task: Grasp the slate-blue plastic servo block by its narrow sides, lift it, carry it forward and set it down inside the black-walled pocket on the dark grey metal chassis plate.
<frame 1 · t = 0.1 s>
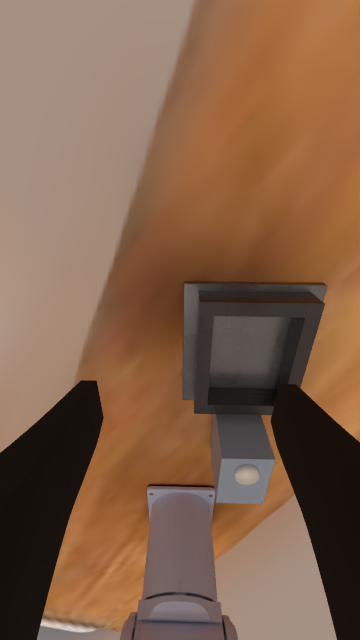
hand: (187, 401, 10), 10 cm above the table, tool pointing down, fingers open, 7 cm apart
servo block: (232, 425, 25), on the table
chassis: (244, 346, 21), on the table
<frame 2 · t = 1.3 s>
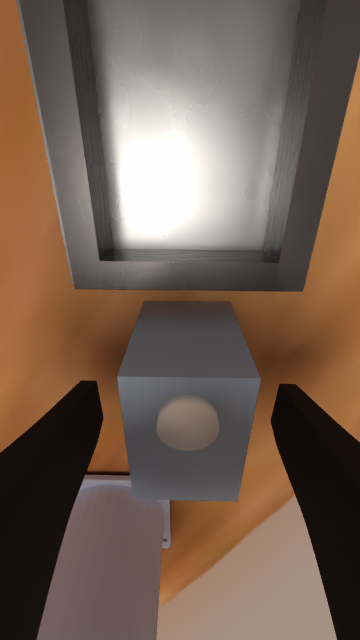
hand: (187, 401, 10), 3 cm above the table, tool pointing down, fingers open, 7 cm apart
servo block: (185, 353, 13), on the table
chassis: (190, 130, 9), on the table
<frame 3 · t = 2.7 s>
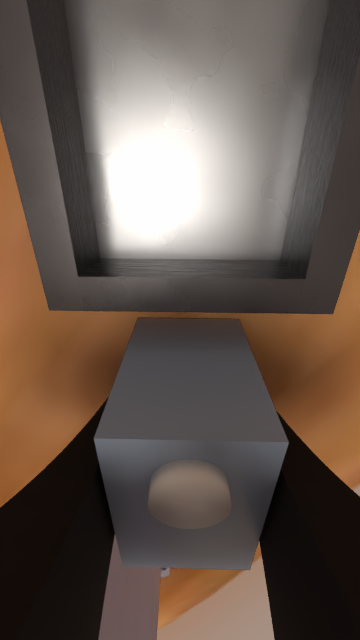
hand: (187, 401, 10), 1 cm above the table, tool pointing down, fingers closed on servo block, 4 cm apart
servo block: (186, 377, 11), on the table, touching gripper
chassis: (192, 111, 7), on the table
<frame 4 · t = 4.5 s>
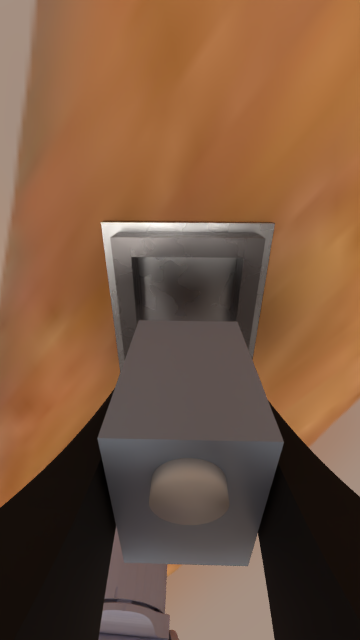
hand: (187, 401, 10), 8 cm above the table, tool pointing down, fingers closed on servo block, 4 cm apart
servo block: (186, 378, 12), point 7 cm above the table, touching gripper
chassis: (186, 306, 18), on the table
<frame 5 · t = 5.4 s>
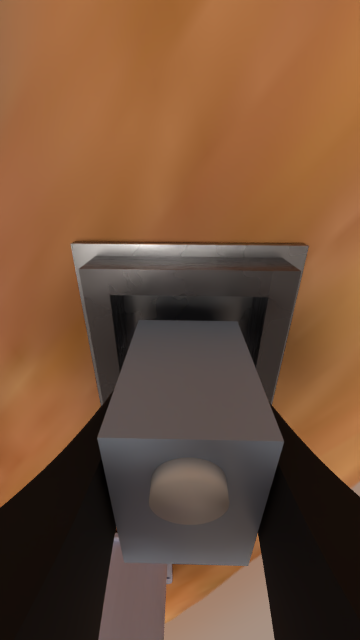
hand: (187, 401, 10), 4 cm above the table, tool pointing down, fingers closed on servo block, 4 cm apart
servo block: (186, 378, 12), point 2 cm above the table, touching gripper
chassis: (186, 347, 14), on the table
when the fingers open (4 cm above the table, at t = 6.3 s): servo block drops 2 cm, resting on chassis.
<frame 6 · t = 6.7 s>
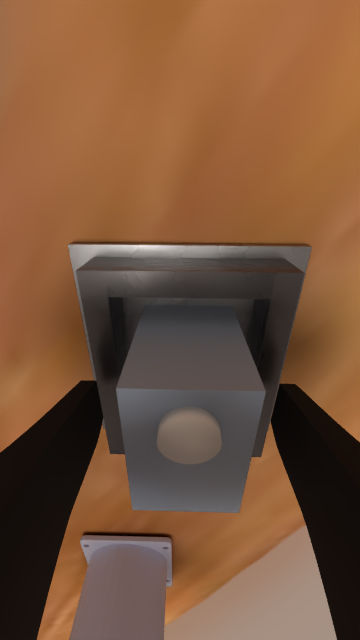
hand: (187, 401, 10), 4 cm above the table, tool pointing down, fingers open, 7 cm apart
servo block: (186, 358, 13), resting on chassis
chassis: (186, 350, 13), on the table
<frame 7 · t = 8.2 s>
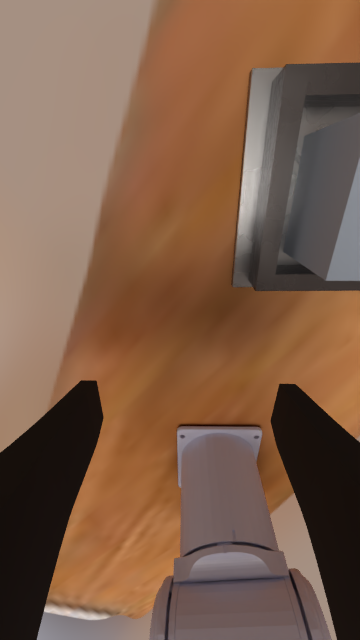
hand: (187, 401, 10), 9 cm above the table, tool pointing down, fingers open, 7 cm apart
servo block: (327, 199, 15), resting on chassis
chassis: (324, 195, 15), on the table
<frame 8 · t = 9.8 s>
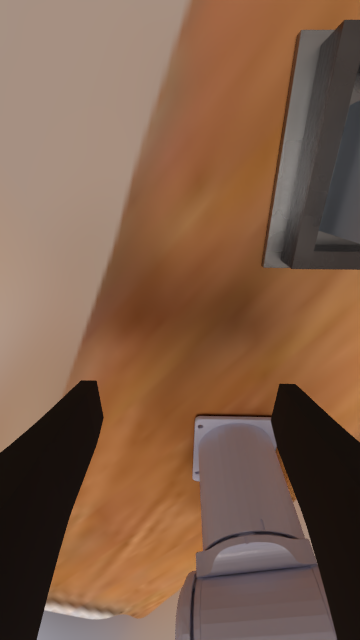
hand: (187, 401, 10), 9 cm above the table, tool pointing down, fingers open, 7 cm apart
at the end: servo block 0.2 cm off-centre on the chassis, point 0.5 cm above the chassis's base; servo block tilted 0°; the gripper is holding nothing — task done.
